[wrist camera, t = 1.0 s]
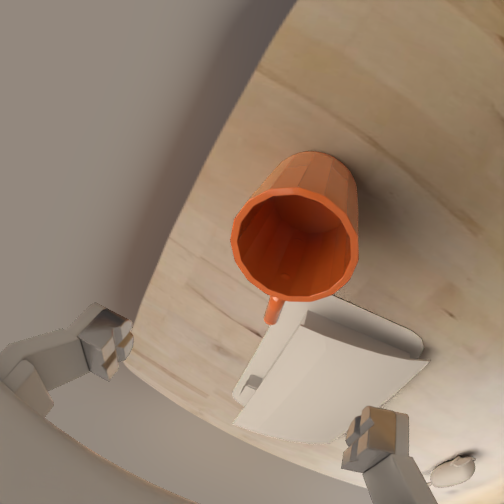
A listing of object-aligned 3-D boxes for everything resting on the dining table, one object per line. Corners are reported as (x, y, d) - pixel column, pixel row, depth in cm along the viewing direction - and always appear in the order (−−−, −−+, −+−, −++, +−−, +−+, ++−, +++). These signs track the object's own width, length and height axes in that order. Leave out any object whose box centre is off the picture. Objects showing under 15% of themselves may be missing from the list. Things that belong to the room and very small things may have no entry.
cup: (280, 139, 22) (243, 170, 15) (369, 168, 21) (378, 214, 14) (252, 257, 27) (214, 322, 20) (326, 281, 27) (311, 356, 20)
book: (227, 399, 40) (217, 422, 37) (295, 278, 27) (286, 306, 24) (326, 437, 39) (322, 459, 36) (435, 341, 26) (440, 371, 23)
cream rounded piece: (461, 465, 31) (407, 479, 39) (471, 486, 28) (418, 498, 37) (476, 442, 34) (425, 459, 42) (486, 462, 32) (435, 477, 40)
